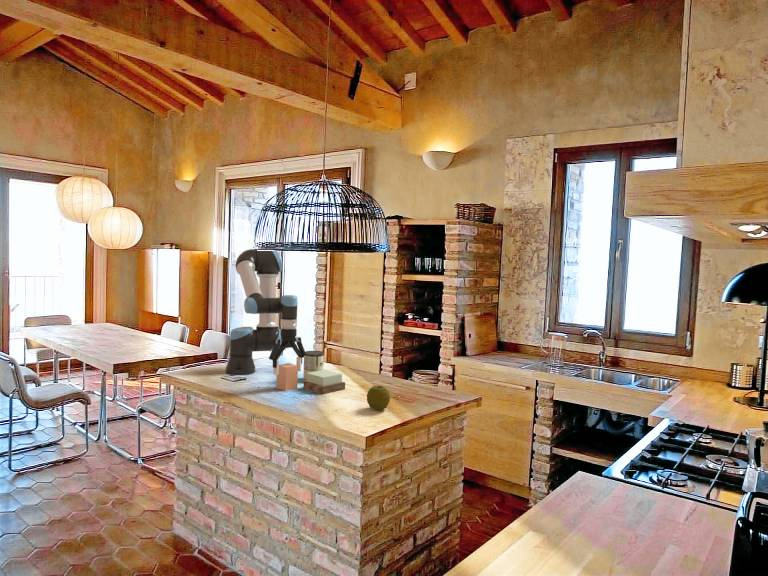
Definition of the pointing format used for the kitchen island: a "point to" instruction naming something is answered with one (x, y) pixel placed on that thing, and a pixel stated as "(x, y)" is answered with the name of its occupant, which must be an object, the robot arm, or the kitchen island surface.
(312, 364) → the coffee can
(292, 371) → the terracotta block
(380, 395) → the apple
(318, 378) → the sage block
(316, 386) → the walnut block
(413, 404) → the kitchen island surface
